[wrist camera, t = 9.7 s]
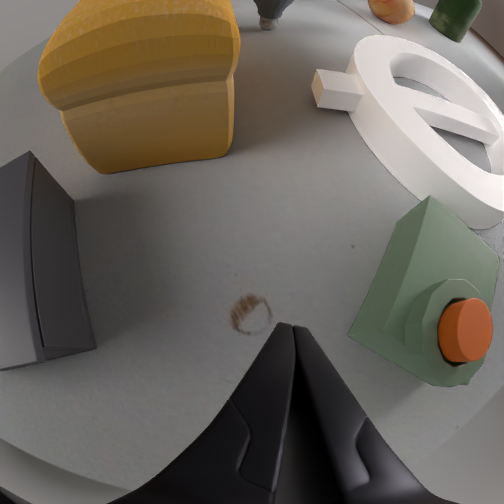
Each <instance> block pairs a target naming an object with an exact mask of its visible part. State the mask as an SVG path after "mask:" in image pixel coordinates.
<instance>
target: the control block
mask: <svg viewBox="0 0 504 504" xmlns="http://www.w3.org/2000/svg"><path fill="white" fill-rule="evenodd" d="M498 266H499V257H498V256H497V255H496V254H495V253H494V251H493V250H492V249H491V248H490V247H489V246H488V245H487V244H485V243H484V242H483V241H482V240H481V239H480V238H479V237H478V236H477V235H476V234H475V233H474V232H473V231H472V230H471V229H470V228H469V227H467V226H466V225H465V224H464V223H463V222H462V221H461V220H460V219H458V218H457V217H456V216H455V215H454V214H453V213H452V212H450V211H449V210H448V209H447V208H446V207H444V206H443V205H442V204H441V203H440V202H438V201H437V200H436V199H435V198H433V197H432V196H431V195H429V196H428V197H427V198H425V199H424V200H423V201H422V202H421V203H419V204H418V205H417V206H416V207H415V208H413V209H412V210H411V211H410V212H409V213H407V214H406V215H405V216H404V217H402V218H401V219H400V220H399V221H398V222H397V224H396V226H395V229H394V232H393V235H392V237H391V240H390V242H389V245H388V247H387V250H386V253H385V255H384V257H383V260H382V262H381V265H380V267H379V269H378V272H377V274H376V276H375V279H374V281H373V283H372V286H371V288H370V290H369V292H368V294H367V297H366V299H365V301H364V303H363V305H362V307H361V309H360V311H359V313H358V315H357V317H356V319H355V321H354V323H353V325H352V327H351V329H350V331H349V333H348V337H350V338H352V339H353V340H355V341H357V342H359V343H360V344H362V345H364V346H365V347H367V348H369V349H370V350H372V351H374V352H375V353H377V354H379V355H381V356H382V357H384V358H386V359H387V360H389V361H391V362H393V363H394V364H396V365H398V366H400V367H401V368H403V369H405V370H407V371H408V372H410V373H412V374H413V375H415V376H416V377H418V378H420V379H421V380H423V381H425V382H427V383H429V384H430V385H432V386H441V387H453V386H457V385H468V384H469V381H470V379H471V378H472V377H473V375H474V374H475V373H476V372H477V370H478V369H479V368H480V367H481V365H482V364H483V361H484V358H485V355H486V353H485V355H484V356H483V357H482V358H480V359H479V360H477V361H472V362H452V361H450V360H448V359H447V358H446V357H445V356H444V355H443V353H442V352H441V349H440V346H439V342H438V326H439V322H440V319H441V316H442V314H443V313H444V311H445V310H446V309H447V307H449V306H450V305H451V304H454V303H457V302H461V301H464V300H468V299H471V298H477V299H480V300H482V301H483V302H484V303H485V304H486V306H487V307H488V309H489V311H491V307H492V302H493V297H494V292H495V286H496V280H497V273H498Z"/></svg>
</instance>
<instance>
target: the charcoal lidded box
mask: <svg viewBox="0 0 504 504" xmlns="http://www.w3.org/2000/svg"><path fill="white" fill-rule="evenodd" d="M30 253H31V271H32V283H33V293H34V301H35V309H36V316H37V322H38V328H39V333H40V339H41V344H42V348H43V353H44V357H45V361H47V360H51V359H56V358H60V357H64V356H68V355H72V354H76V353H81V352H85V351H89V350H92V349H96V348H97V347H96V343H95V339H94V335H93V331H92V327H91V323H90V319H89V314H88V309H87V304H86V299H85V294H84V289H83V283H82V277H81V270H80V263H79V256H78V248H77V239H76V228H75V215H74V200H73V199H72V198H71V197H70V196H69V195H68V194H67V193H66V192H65V190H64V189H63V188H62V187H61V186H60V185H59V184H58V183H57V181H56V180H55V179H54V178H53V177H52V176H51V175H50V173H49V172H48V171H47V170H46V169H45V168H44V166H43V165H42V164H41V163H40V162H39V160H38V159H37V158H36V157H35V161H34V170H33V179H32V191H31V209H30Z"/></svg>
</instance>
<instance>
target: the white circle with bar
mask: <svg viewBox="0 0 504 504" xmlns="http://www.w3.org/2000/svg"><path fill="white" fill-rule="evenodd" d="M393 77H404V78H409V79H412V80H415V81H418V82H420V83H422V84H425V85H427V86H428V87H430V88H432V89H434V90H435V91H437V92H438V93H440V94H441V95H443V96H444V97H445V98H447V99H448V100H449V101H450V102H449V101H446V100H443V99H441V98H438V97H435V96H432V95H429V94H426V93H423V92H420V91H417V90H413V89H410V88H407V87H403V86H400V85H397V84H396V83H395V81H394V79H393ZM311 88H312V91H313V94H314V97H315V100H316V104H317V107H320V108H329V109H338V110H345V111H348V114H349V116H350V118H351V120H352V122H353V124H354V125H355V127H356V129H357V130H358V132H359V134H360V135H361V137H362V138H363V140H364V141H365V142H366V144H367V145H368V147H369V148H370V149H371V150H372V152H373V153H374V154H375V155H376V157H377V158H378V159H379V160H380V162H381V163H382V164H383V165H384V166H385V167H386V168H387V169H388V170H389V171H390V173H391V174H392V175H393V176H394V177H395V178H396V179H397V180H398V181H399V182H400V183H401V184H402V185H403V186H404V187H406V188H407V189H408V190H409V191H410V192H411V193H412V194H413V195H414V196H416V197H417V198H418V199H419V200H421V201H423V200H424V199H425V198H427V197H428V196H429V195H431V196H432V197H433V198H435V199H436V200H437V201H438V202H440V203H441V204H442V205H443V206H444V207H446V208H447V209H448V210H449V211H450V212H452V213H453V214H454V215H455V216H456V217H457V218H458V219H460V220H461V221H462V222H463V223H464V224H465V225H466V226H467V227H469V228H472V229H488V228H491V227H493V226H495V225H497V224H499V223H500V222H502V221H504V115H503V114H502V112H501V111H500V110H499V108H498V107H497V106H496V105H495V103H494V102H493V101H492V100H491V98H490V97H489V96H488V95H487V94H486V93H485V92H484V91H483V90H482V89H481V88H480V87H479V86H478V85H477V84H476V83H475V82H474V81H473V80H472V79H471V78H470V77H469V76H468V75H467V74H465V73H464V72H463V71H462V70H460V69H459V68H458V67H457V66H455V65H454V64H452V63H451V62H450V61H448V60H447V59H445V58H444V57H442V56H440V55H439V54H437V53H435V52H433V51H432V50H430V49H428V48H426V47H424V46H421V45H419V44H417V43H414V42H412V41H409V40H406V39H402V38H399V37H394V36H388V35H372V36H368V37H365V38H363V39H361V40H360V41H359V42H358V43H357V45H356V47H355V49H354V51H353V54H352V56H351V59H350V61H349V64H348V66H347V69H346V71H345V73H341V72H335V71H329V70H322V69H316V73H315V76H314V79H313V82H312V85H311ZM430 126H433V127H437V128H440V129H444V130H447V131H450V132H454V133H457V134H460V135H463V136H466V137H469V138H472V139H475V140H478V141H480V142H483V144H484V147H485V149H486V152H487V154H488V158H489V161H490V167H491V174H490V173H488V172H486V171H484V170H482V169H480V168H479V167H477V166H475V165H474V164H472V163H471V162H470V161H468V160H467V159H466V158H464V157H463V156H462V155H460V154H459V153H458V152H457V151H456V150H454V149H453V148H452V147H451V146H450V145H449V144H448V143H447V142H446V141H444V140H443V139H442V138H441V137H440V136H439V135H438V134H437V133H436V132H435V131H434V130H433V129H432V128H431V127H430Z"/></svg>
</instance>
